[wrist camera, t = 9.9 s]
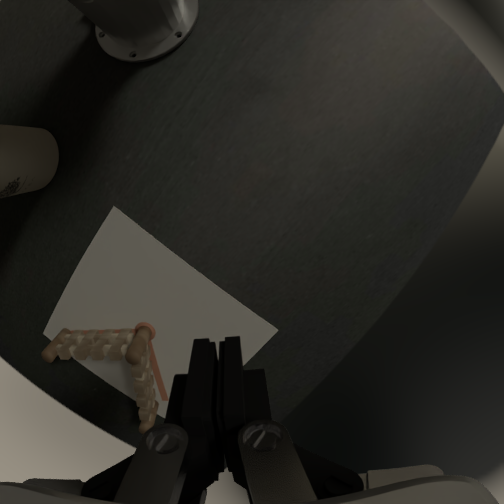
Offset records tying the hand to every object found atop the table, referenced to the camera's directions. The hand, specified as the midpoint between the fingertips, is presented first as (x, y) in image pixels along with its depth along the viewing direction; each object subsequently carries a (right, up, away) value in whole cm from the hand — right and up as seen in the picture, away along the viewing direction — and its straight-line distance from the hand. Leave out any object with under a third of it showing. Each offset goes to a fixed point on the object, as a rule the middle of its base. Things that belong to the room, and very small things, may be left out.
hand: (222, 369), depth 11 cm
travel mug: (-26, +16, +21) cm, 37 cm away
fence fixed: (-19, -6, +28) cm, 34 cm away
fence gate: (-13, -13, +30) cm, 35 cm away
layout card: (-13, -7, +28) cm, 32 cm away
